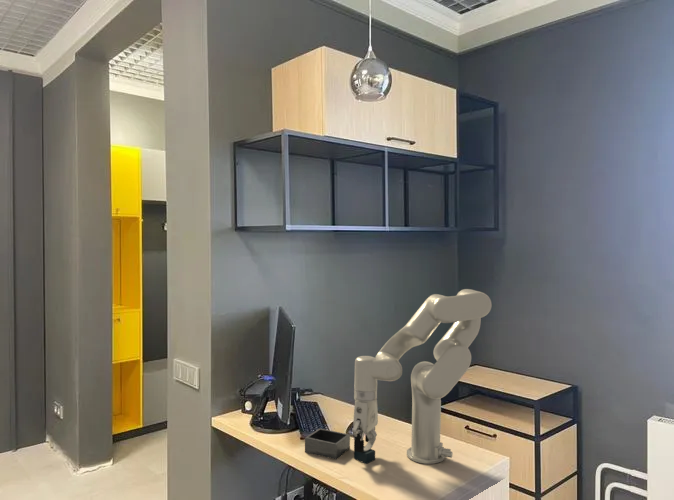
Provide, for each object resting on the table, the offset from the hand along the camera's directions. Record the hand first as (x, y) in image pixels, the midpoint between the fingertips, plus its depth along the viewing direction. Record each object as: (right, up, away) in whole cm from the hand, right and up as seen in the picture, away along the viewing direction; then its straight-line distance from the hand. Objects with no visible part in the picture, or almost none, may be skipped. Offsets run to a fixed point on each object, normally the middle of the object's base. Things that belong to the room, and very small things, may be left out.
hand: (364, 446), depth 170 cm
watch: (0, -4, 0) cm, 4 cm away
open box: (-12, -4, +6) cm, 15 cm away
